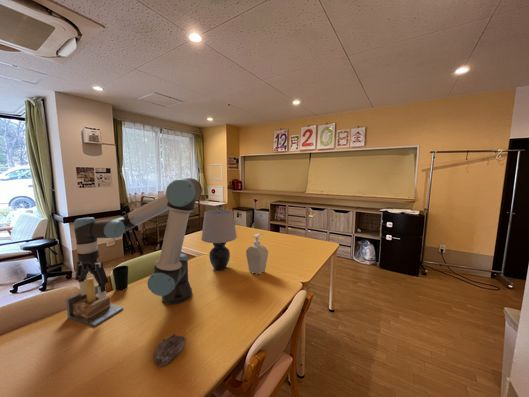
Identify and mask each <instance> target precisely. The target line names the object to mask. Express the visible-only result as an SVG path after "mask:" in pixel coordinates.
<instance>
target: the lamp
mask: <svg viewBox="0 0 529 397" xmlns="http://www.w3.org/2000/svg"><path fill="white" fill-rule="evenodd" d="M234 218H235V217H234V212H233V211H232V210H231V209H214V210H213V209H212V210H207V211H204V216H203V223H202V231H201V238H200V239H201V241H203V242H204V243H209V244H210V243H211V244H212V245H213V247H212V248H211V249H210V251H209V254H208V255H209V256H208V257H209V261H210V264H211V266H212V268H213V270H214V271H216V272H217V271H218V272H220V271H224V269H225V270H226V269H227V266H228V265H229V262H230V257H231V252H230V250H229V248H228V247H226V244H227V243H228V242H232V241H235V240H236V239H237V238H238V236H237V228H236V224H235V219H234Z"/></svg>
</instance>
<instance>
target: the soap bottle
mask: <svg viewBox="0 0 529 397" xmlns="http://www.w3.org/2000/svg"><path fill="white" fill-rule="evenodd" d="M259 236H264V234H263V233H256V234H253V235H252V238H255V240H254V241H253V245H252V246H249V247H247V249H246V251H245V253H246V260H247V266H248V272H249V271H250V272H249V273H251V272H253V273H256V274H260V275H262V274H263V273H262V272H264V271H265V272H266V270H267V269H266V268H267V263H268V256H269V250H268V248H266V246H264V245H262V244H261V240H259V238H260V237H259ZM265 272H264V273H265ZM253 273H252V274H253ZM261 273H262V274H261ZM256 274H255V275H256Z"/></svg>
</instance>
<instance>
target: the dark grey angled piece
mask: <svg viewBox="0 0 529 397" xmlns="http://www.w3.org/2000/svg"><path fill="white" fill-rule="evenodd" d="M97 286H98V285H95V293H98V287H97ZM86 297H87V294H85V295H83V296H81V292H79V293H76V294H75V295H72V296H70V297H68V298H66V299H65V303H66V304H65V305H66V312H67V313H66V314H67V318H68V319H70V320H73V321H76V322H79V323H82V324H85V325H88V326H91V327H94V328H96V327H97V326H98V325H101V324H102V323H104V322H105V321H107V320H109V319H111V318H112V317H113V316H115V315H116V314H118V313H119V312H120V313H121V311H123V310H124V307H122V306H119V305H115V304H111V303H110V307H108V308H106V309H105V310H103V311H101V312H99V313H98V314H96V315H94V316H92V317H91V318H89V319H87V318H84V317H81V316H78V315H75V314H73V303H75V302H77V301H80V300H82V299H84V298H86Z"/></svg>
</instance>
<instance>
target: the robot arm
mask: <svg viewBox="0 0 529 397" xmlns="http://www.w3.org/2000/svg"><path fill="white" fill-rule="evenodd" d="M202 192H203V187H202V184H201V183H200V182H199V181H198V180H197V179H195V178H192V177H190V178H186V177H185V178H182V177H181V178H177V179H174V180H173V181H171V182H169V184H168V185H167V187H166V190H165V194H163V195H162V196H160V197H158V198H156V199H154V200H152V201H150V202H148V203H146V204H144V205H142V206H140V207H138V208H136V209H135V210H132V211H130V212H128V213H126V214H124V215H122V216H119V217H117V218H113V219H110V220H106V221H96V219H95V217H93V216H92V217H90V216H87V217H82V218H81V217H80V218H76V219H75V220H74V221H73V230H74V235H75V241H76V242H75V243H76V252H77V260H78V261H77V262H76V270H75V278H74V280H75V281H77V282H78V283H79V291H80V292H79V293H81V296H83V295H85V294H87V293H86V282H85V279H87V276H88V274H89V273H90V274H91V275H92V277H94V280H95V281H96V283H97V285H96V286H97V287H98V295H99V300H101V299H103V298H105V297H106V296H107V295H106V294H107V292H106V284H108V283H109V278H108V276H107V274H106V271H105V268H104V265H103V262H102V261H101V262H98V259H99V257H100V252H99V250H98V249H99V245H98V239H115V238H120V237H123V234H124V233H125V232H127V231H129V230H130V231H131V229H134V228H135V227H137V226H138V225H141V224H143V223H145V222H147V221H148V220H151V219H153V218H155V217H156V216H160V215H161V214H163V213H165V212H167V211H169V212H168V217H167V222H166V227H165V231H164V236H163V239H162V240H163V241H162V245H161V251H160V257H159V259H157V260H155V262H154V266H153V272H152V274H150V276H149V278H148V280H147V288H148V290H149V291H151V293H152V294H153V295H155V296H159V297H161V301H162V302H163V303H165V304H168V305H176V304H180V303H184V302H185V301H187V300H189V299H190V298H192V296H193V288H192V287H191V284H190V281H189V262H188V261H189V259H188V255H187V254H186V253H182V250H183V244H184V240H185V236H186V231H187V226H188V221H189V219H190V214H191V212H194V210H195V206H196V202H197V201H198V199H200V197H201V196H202Z"/></svg>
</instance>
